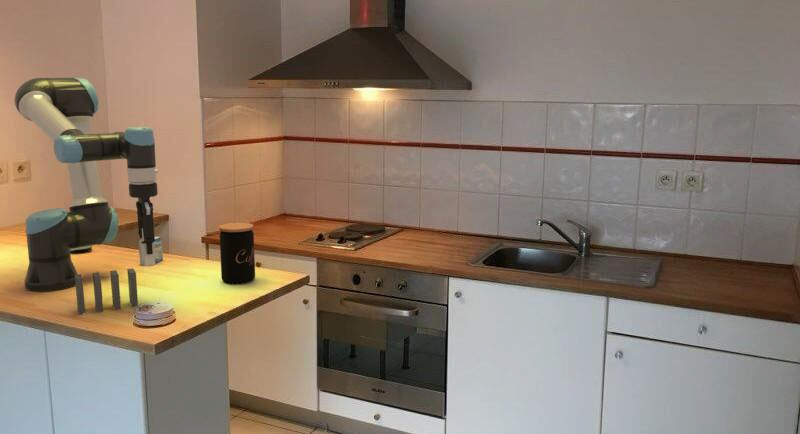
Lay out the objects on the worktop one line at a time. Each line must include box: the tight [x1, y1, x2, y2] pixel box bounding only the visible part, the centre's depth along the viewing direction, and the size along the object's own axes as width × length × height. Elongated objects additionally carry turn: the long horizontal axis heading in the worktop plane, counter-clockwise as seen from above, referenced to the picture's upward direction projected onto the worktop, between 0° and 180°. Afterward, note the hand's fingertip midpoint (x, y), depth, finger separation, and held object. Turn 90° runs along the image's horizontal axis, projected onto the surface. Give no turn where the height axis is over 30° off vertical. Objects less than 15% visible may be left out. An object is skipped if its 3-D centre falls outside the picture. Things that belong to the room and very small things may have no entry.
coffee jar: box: [219, 222, 256, 286], centre depth 223 cm, size 11×11×18 cm
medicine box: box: [137, 236, 164, 266], centre depth 245 cm, size 8×4×9 cm, turn 168°
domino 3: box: [109, 269, 122, 310], centre depth 197 cm, size 2×5×10 cm, turn 29°
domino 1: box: [74, 273, 86, 315], centre depth 193 cm, size 2×5×10 cm, turn 28°
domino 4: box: [126, 267, 139, 308], centre depth 199 cm, size 2×5×10 cm, turn 29°
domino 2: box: [92, 271, 104, 313], centre depth 195 cm, size 2×5×10 cm, turn 28°
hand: (148, 262), depth 200 cm, fingers closed on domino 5, 5 cm apart
